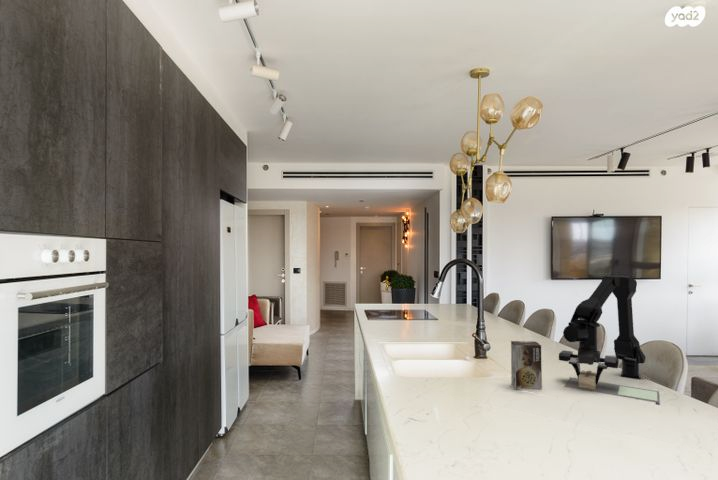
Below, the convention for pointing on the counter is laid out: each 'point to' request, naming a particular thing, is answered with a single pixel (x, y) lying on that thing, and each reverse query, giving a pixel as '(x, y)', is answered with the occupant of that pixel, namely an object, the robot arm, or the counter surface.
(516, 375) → the coffee box
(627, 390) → the mat
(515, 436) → the counter surface
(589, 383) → the taped cardboard box
